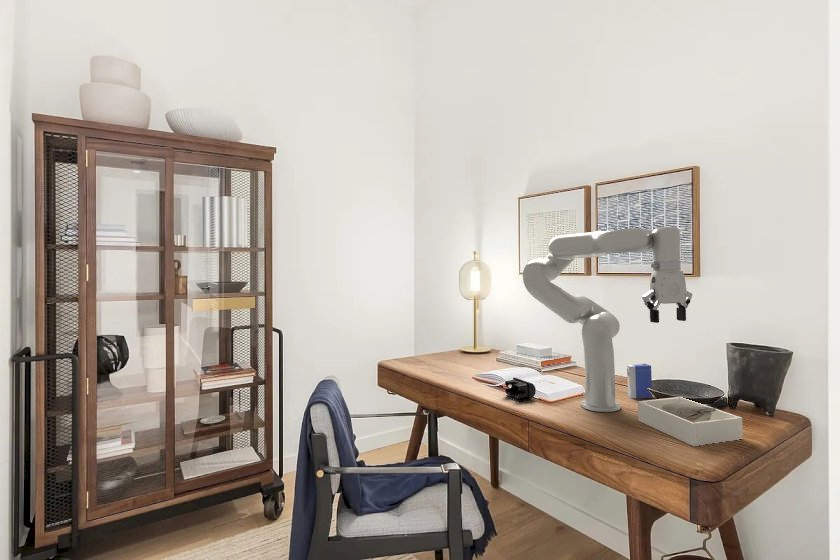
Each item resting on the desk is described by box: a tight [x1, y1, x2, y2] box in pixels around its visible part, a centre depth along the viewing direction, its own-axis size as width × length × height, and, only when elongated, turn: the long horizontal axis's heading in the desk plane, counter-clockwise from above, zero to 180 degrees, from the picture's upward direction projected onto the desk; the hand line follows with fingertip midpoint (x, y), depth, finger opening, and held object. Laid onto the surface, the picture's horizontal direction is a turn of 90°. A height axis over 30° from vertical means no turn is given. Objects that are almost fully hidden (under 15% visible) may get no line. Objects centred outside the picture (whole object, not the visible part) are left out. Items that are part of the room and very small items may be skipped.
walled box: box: [637, 396, 744, 447], centre depth 132 cm, size 22×16×6 cm
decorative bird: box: [661, 402, 718, 423], centre depth 131 cm, size 5×16×8 cm, turn 28°
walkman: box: [626, 363, 653, 399], centre depth 166 cm, size 8×3×12 cm, turn 90°
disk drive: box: [686, 393, 728, 409], centre depth 155 cm, size 10×3×15 cm
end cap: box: [504, 377, 537, 403], centre depth 170 cm, size 10×7×7 cm
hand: (668, 321), depth 142 cm, fingers open, 9 cm apart
